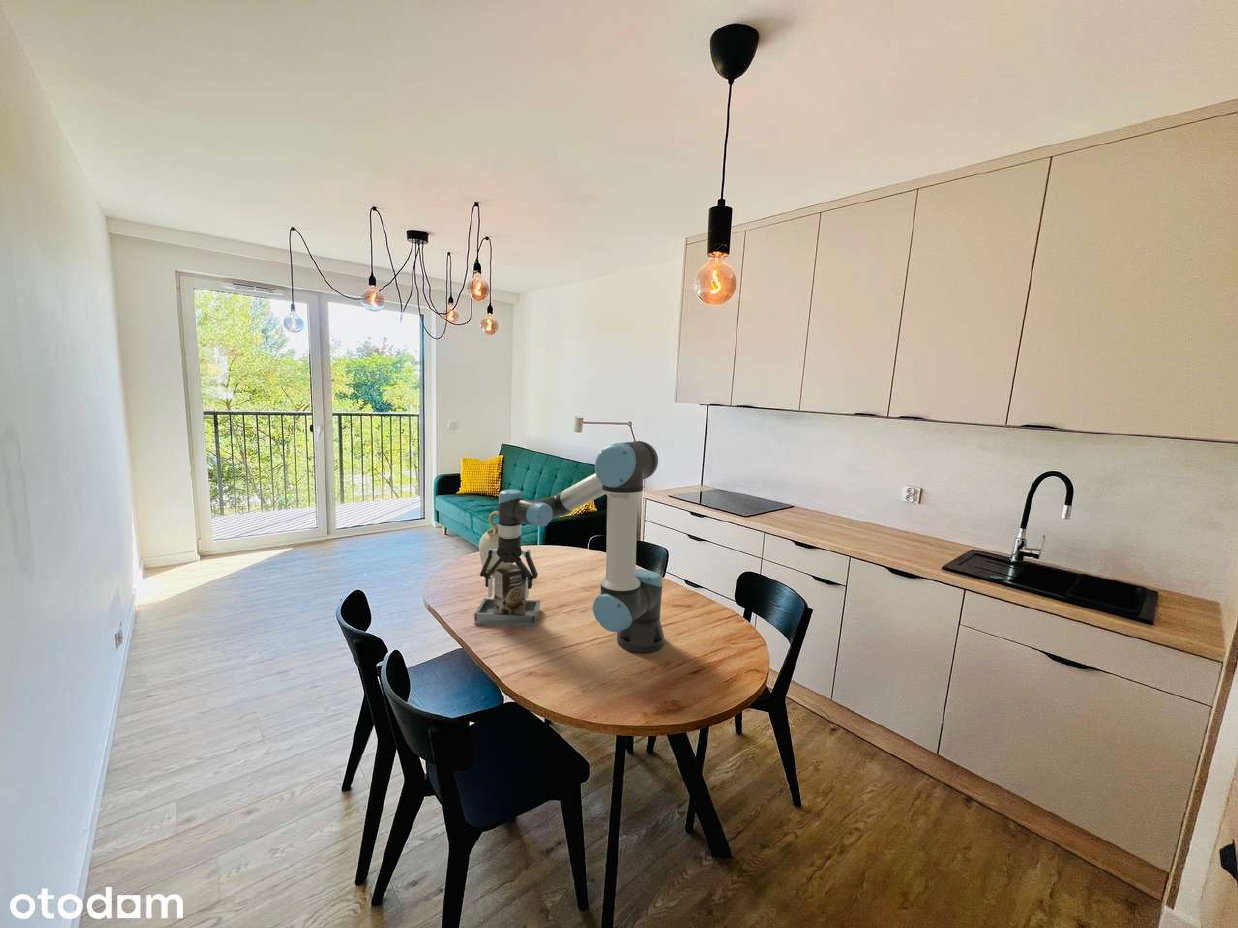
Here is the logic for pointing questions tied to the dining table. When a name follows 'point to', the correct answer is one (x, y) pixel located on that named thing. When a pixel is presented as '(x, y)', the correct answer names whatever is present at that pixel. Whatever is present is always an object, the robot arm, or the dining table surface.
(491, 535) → the jug
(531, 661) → the dining table surface
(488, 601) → the grey shallow tray
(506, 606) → the coffee box
